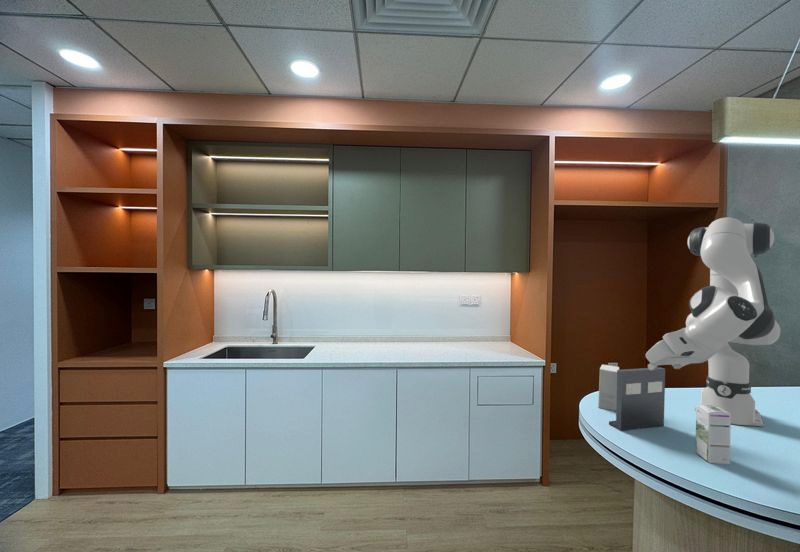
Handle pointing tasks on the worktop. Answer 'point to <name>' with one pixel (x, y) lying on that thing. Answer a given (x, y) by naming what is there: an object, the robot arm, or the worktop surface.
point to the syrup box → (713, 434)
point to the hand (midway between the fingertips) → (662, 367)
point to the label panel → (639, 399)
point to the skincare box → (608, 387)
